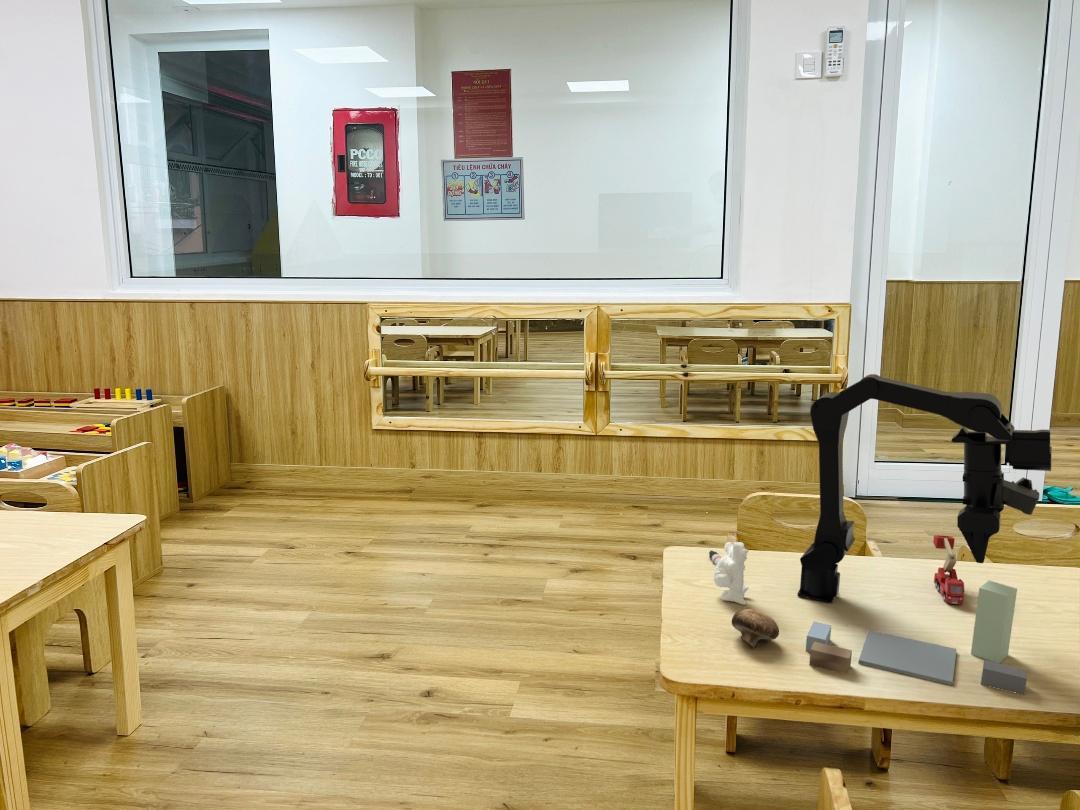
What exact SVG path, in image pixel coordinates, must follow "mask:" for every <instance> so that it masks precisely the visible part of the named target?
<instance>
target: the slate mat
mask: <svg viewBox="0 0 1080 810" xmlns="http://www.w3.org/2000/svg"><path fill="white" fill-rule="evenodd" d="M956 655H957V648H955V647H950V646H946V645H940V644H937V643H931V642H927V641H922V640H917V639H913V638H910V637H904V636H900V635H895V634H890V633H886V632H882V631H876V630H872V629H868V631H867V635H866V638H865V640H864V643H863V646H862V649H861V652H860V655H859V658H858V664H860V665H865V666H869V667H873V668H877V669H880V670H881V669H882V670H885V671H890V672H894V673H899V674H903V675H907V676H911V677H915V678H920V679H924V680H928V681H933V682H937V683H941V684H945V685H949V686H953V683H954V682H953V681H954V673H955V665H956Z"/></svg>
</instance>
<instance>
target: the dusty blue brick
mask: <svg viewBox="0 0 1080 810" xmlns="http://www.w3.org/2000/svg"><path fill="white" fill-rule="evenodd" d="M831 633H832V625H831V624H827V623H823V622H818V621H815V620H814V621H813V622H812V624H811V626H810V628H809V630H808V633H807V634H806V640H805V641H806V643H805V652H809V653H810V651H811V648H812V645H813V643H814V642H818V643H822V644H827V645H830V642H831V636H832V635H831Z"/></svg>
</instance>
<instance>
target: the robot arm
mask: <svg viewBox="0 0 1080 810" xmlns="http://www.w3.org/2000/svg"><path fill="white" fill-rule="evenodd" d="M872 399H873V400H878V401H881V402H885V403H888V404H889V403H890V404H894V405H897V406H902V407H906V408H909V409H914V410H918V411H921V412H922V411H923V412H926V413H931V414H935V415H939V416H942V418H943V417H944V418H946V419H947V420H949V421H951V422H952V423H955V424H956V425H958V426H961V428H960V429H959V430H958V431H957V432H956V433H954V435H952V437H951V443H954V444H955V443H957V444H963V474H962V482H963V497H962V505H965V506H964V507H963V508H961V509H960V510H959V512H958V513H957V517H956V518H957V521H956V522H957V523H956V524H957V525H956V526H957V528H958V530H959V531H960V532H961V534H962V536H963V537H964V540H965V542H966V544H967V546H968V548H969V550H970V552H971V554H972V556H973V559H974V561H975V563H977V564H984V562H985V558H986V553H987V550H988V546H989V541H990V538H991V537H992V536H994V535H996V534H998V533H999V531H1000V528H1001V519H1002V518H1001V513H1002V511H1003V510H1004V509H1005V506H1007V507H1009V508H1012V509H1015V510H1017V511H1020V512H1022V514H1026V515H1029V516H1030V515H1031V516H1032V515H1033V513H1034V510H1035V508H1036V506H1037V504H1038V501H1039V499H1040V492H1039V491H1038V490H1037V489H1036V488H1035V489H1033V482H1032V480H1031V479H1029V478H1025V477H1022V478H1020V479H1019V480H1017V481H1016V482H1015V481H1013V480H1012V481H1009V480H1006V479H1005V473H1004V472H1003V470H1002V445H1005V450H1004V451H1005V455H1004V457H1005V461H1004V462H1005V464H1008V466H1009V467H1012V470H1019V471H1020V470H1021V471H1023V470H1024V471H1041V472H1051V471H1052V453H1053V451H1052V448H1053V447H1052V446H1051V430H1050V429H1037V430H1029V429H1028V430H1027V429H1026V430H1025V429H1023V430H1022V429H1015V426H1014V425H1013V424H1012V423H1011V421H1009V419H1008V418H1007V417H1006V415H1005V414H1004V413H1003V406H1002V403H1001V401H1000V400H999V399H998V397H996V395H994V394H990V393H985V392H971V391H944V390H940V389H935V388H931V387H926V386H921V385H917V384H913V383H908V382H904V381H901V380H897V379H891V378H886V377H882V376H880V375H878V374H875V373H871V374H867V375H866V376H864V377H862V379H860V380H859V381H858V382H856V383H853V384H851V385H850V386H848V387H846V388H844V389H843V390H841V391H839V392H836V391H830V392H827V393H825V394H823V395H821V396H820V397H819V398H818V399H816V400H815V401H813V403H812V404H811V406H810V411H809V414H810V420H811V424H812V429H813V432H814V433H813V434H814V435H815V437H816V440H817V442H818V463H819V464H818V465H819V467H818V468H819V519H818V523H817V526H816V529H815V535H814V538H813V543H811V544H810V545H809V547H808V548H807V549H806V550H805V552H804V553H803V554H802V555H801V557H800V558H799V562H800V564H801V572H800V582H799V583H800V584H799V590H798V592H797V597H801V598H805V599H810V600H815V601H820V602H825V603H833V602H834V599H835V598H836V597H837V596H838V595H839V592H840V583H841V582H840V581H841V573H840V572H839V571H838V570H839V569H838V568H839V563H840V562H842V560H843V559H844V558H845V556H846V554H847V553H848V551H850V549H851V547H852V545H854V543H855V541H856V538H855V536H854V527H855V521H854V520H847V518H846V515H845V511H844V463H843V461H844V460H843V457H844V456H843V453H844V452H843V451H844V450H843V441H844V436H845V433H846V428H847V424H848V420H849V414H850V411H853V410H854V409H856V408H858V407H859V406H860V405H862V404H864V403H866V402H867V401H870V400H872ZM969 430H970V431H969ZM988 435H989V436H988Z"/></svg>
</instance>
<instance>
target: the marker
mask: <svg viewBox="0 0 1080 810" xmlns="http://www.w3.org/2000/svg"><path fill="white" fill-rule="evenodd" d="M708 554H709V558H710V560H711V562H712V563H713V564H714V565H715V567H716V566H717V564H718V562H719V561H720V559H721V558H722V556H721V555H720V554H719V553H718V552H717V551H714V550H711V549H710V550H709V553H708Z"/></svg>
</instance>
